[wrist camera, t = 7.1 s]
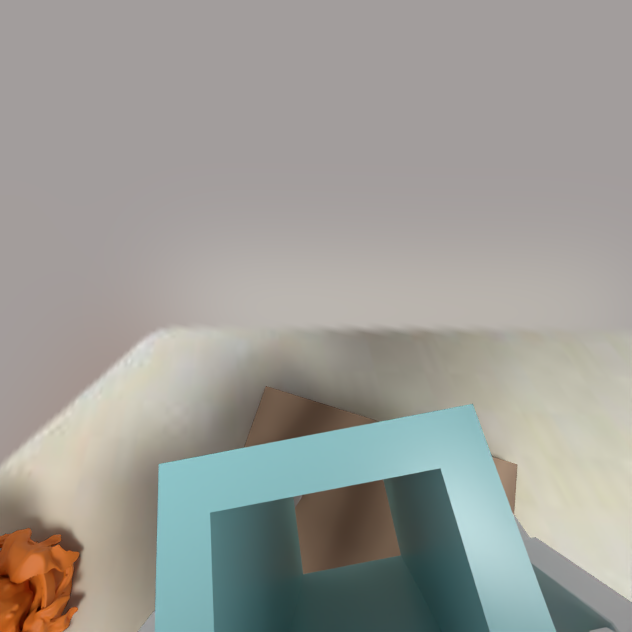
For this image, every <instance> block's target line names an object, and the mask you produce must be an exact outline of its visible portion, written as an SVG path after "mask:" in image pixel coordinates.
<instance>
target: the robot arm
mask: <svg viewBox="0 0 632 632" xmlns="http://www.w3.org/2000/svg"><path fill="white" fill-rule="evenodd" d="M513 515H514V514H513ZM514 518H515V521H516V524H517V526H518V529H519V532H520V535H521V537H522V540H523V543H524V545H525V548H526V551H527V554H528V556H529V559H530V562H531V565H532V567H533V570H534V573H535V575H536V578H537V581H538V584H539V586H540V589H541V592H542V595H543V597H544V600H545V603H546V605H547V608H548V611H549V614H550V616H551V619H552V622H553V625H554V627H555V630H556V632H632V602H630V601H629V600H628V599H626V598H625V597H623V596H622V595H620V594H619V593H617V592H616V591H614V590H613V589H611V588H610V587H608V586H607V585H605V584H604V583H602V582H601V581H599V580H598V579H597V578H595V577H594V576H592V575H591V574H589V573H588V572H586V571H585V570H583V569H582V568H580V567H579V566H577V565H576V564H574V563H573V562H571V561H570V560H569V559H567V558H566V557H564V556H563V555H561V554H560V553H558V552H557V551H555V550H554V549H552V548H551V547H549V546H548V545H546V544H545V543H543V542H542V541H540V540H539V539H538V538H536V537H534V538H530V537H529V535H528V534H527V532H526V531H525V530H524V528H523V527H522V525H521V524H520V523H519V521H518V520H517V518H516V517H515V515H514ZM138 632H155V611H153V612H152V614H151V615H150V616H149V618H148V619H147V620H146V622H145V623H144V624H143V625H142V627H141V628H140V629H139V631H138Z"/></svg>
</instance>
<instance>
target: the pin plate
mask: <svg viewBox="0 0 632 632" xmlns="http://www.w3.org/2000/svg"><path fill="white" fill-rule="evenodd" d="M376 422H380V421H376V420H373V419H370V418H367V417H364V416H360V415H357V414H354V413H351V412H348V411H344V410H341V409H338V408H335V407H332V406H328V405H325V404H322V403H319V402H316V401H312V400H309V399H306V398H303V397H299V396H296V395H293V394H290V393H287V392H283V391H280V390H277V389H274V388H271V387H267V386H266V387H265V390H264V393H263V396H262V398H261V401H260V404H259V407H258V410H257V412H256V415H255V418H254V421H253V424H252V426H251V429H250V432H249V435H248V438H247V440H246V443H245V446H244V448H245V447H251V446H256V445H261V444H266V443H272V442H277V441H282V440H287V439H292V438H298V437H303V436H308V435H313V434H319V433H324V432H329V431H334V430H339V429H345V428H350V427H355V426H360V425H365V424H371V423H376ZM492 458H493V461H494V464H495V466H496V469H497V472H498V475H499V477H500V480H501V483H502V485H503V488H504V491H505V494H506V496H507V499H508V502H509V505H510V507H511V510H512V513H513V514H514V507H515V492H516V478H517V464H514V463H511V462H508V461H504V460H501V459H498V458H495V457H492ZM293 498H294V506H295V514H296V521H297V529H298V537H299V545H300V553H301V561H302V568H303V574H307V573H312V572H318V571H323V570H328V569H333V568H338V567H343V566H348V565H354V564H359V563H364V562H369V561H374V560H379V559H384V558H390V557H395V556H400V555H401V554H400V549H399V545H398V541H397V536H396V532H395V528H394V524H393V519H392V515H391V511H390V506H389V502H388V498H387V494H386V489H385V485H384V481H383V479H382V480H377V481H372V482H367V483H361V484H356V485H351V486H346V487H341V488H335V489H330V490H325V491H320V492H315V493H309V494H304V495H299V496H294V497H293Z"/></svg>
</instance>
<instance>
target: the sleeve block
mask: <svg viewBox="0 0 632 632" xmlns="http://www.w3.org/2000/svg"><path fill="white" fill-rule="evenodd" d="M382 479H383V481H384V485H385V489H386V494H387V498H388V502H389V506H390V511H391V515H392V519H393V524H394V528H395V532H396V536H397V541H398V545H399V549H400V554H401V555H400V556H395V557H390V558H384V559H379V560H374V561H369V562H364V563H359V564H354V565H348V566H343V567H338V568H333V569H328V570H323V571H318V572H312V573H307V574H303V568H302V561H301V553H300V545H299V537H298V529H297V521H296V514H295V506H294V498H293V497H294V496H299V495H304V494H309V493H315V492H320V491H325V490H330V489H335V488H341V487H346V486H351V485H356V484H361V483H367V482H372V481H377V480H382ZM155 632H556V630H555V627H554V625H553V622H552V619H551V616H550V614H549V611H548V608H547V605H546V603H545V600H544V597H543V595H542V592H541V589H540V586H539V584H538V581H537V578H536V575H535V573H534V570H533V567H532V565H531V562H530V559H529V556H528V554H527V551H526V548H525V545H524V543H523V540H522V537H521V535H520V532H519V529H518V526H517V524H516V521H515V518H514V515H513V513H512V510H511V507H510V505H509V502H508V499H507V496H506V494H505V491H504V488H503V485H502V483H501V480H500V477H499V475H498V472H497V469H496V466H495V464H494V461H493V458H492V455H491V453H490V450H489V447H488V444H487V442H486V439H485V436H484V434H483V431H482V428H481V425H480V423H479V420H478V417H477V414H476V412H475V409H474V406H473V404H470V405H465V406H459V407H454V408H449V409H444V410H439V411H433V412H428V413H423V414H418V415H412V416H407V417H402V418H397V419H392V420H386V421H381V422H376V423H371V424H365V425H360V426H355V427H350V428H345V429H339V430H334V431H329V432H324V433H319V434H313V435H308V436H303V437H298V438H292V439H287V440H282V441H277V442H272V443H266V444H261V445H256V446H251V447H245V448H240V449H235V450H230V451H225V452H219V453H214V454H209V455H204V456H199V457H193V458H188V459H183V460H178V461H172V462H167V463H162V464H159V474H158V516H157V557H156V599H155Z"/></svg>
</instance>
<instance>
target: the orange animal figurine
mask: <svg viewBox="0 0 632 632" xmlns="http://www.w3.org/2000/svg"><path fill="white" fill-rule="evenodd" d="M31 534H32V532H31V529H30V528H26V529H23V530H18V531H15V532H13V533H12V534H6V533H5V534H4V535H3V536H0V548H2V549H1V551H0V632H62V631H64V630H65V629H66V628H68V626H69V623H70V620H71V618H72V616H73V614H74V613H75V612H76V611H77V610H78V608H76V607H72V608H70V609H69V610H68V611H67V613H66V614H65V615H63V616H61V614H62V613H63V611H64V609H65V607H66V605H67V602H68V600H69V598H70V592H71V586H72V576H73V572H74V566H73V563H74V562H75V561H76V560H77V558H78V557H79V552H73V551H70V550H69V551H65V550H64V549H63V548H62V547H61V546H60V545H56V546H54V547H51V546H53V545H55V544H57V543H59V542H60V541H61V535H60V534H59V535H53V536H51V537H50V538H48V539H46V540H45V541H43V542H40V543H37V542H38V541H37V542H34V541H33V540H31V539H30V536H31Z"/></svg>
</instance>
